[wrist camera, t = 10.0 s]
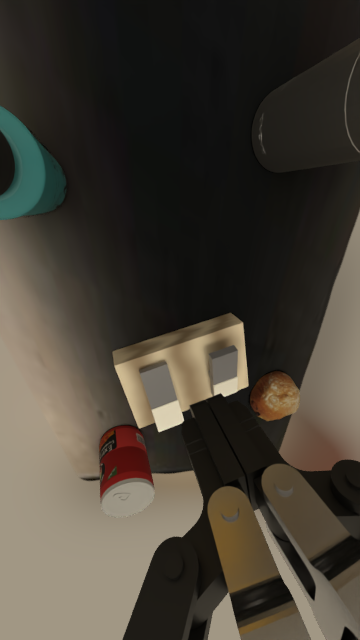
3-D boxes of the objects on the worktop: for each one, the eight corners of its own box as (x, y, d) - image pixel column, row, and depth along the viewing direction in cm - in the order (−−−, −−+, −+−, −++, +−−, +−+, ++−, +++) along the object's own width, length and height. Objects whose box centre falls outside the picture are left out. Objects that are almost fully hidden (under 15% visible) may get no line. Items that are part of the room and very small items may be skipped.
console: (230, 312, 43) (242, 322, 40) (237, 374, 49) (248, 387, 46) (112, 351, 39) (114, 365, 36) (135, 412, 46) (139, 429, 42)
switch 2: (231, 341, 38) (238, 350, 36) (231, 381, 44) (237, 391, 43) (206, 350, 37) (212, 360, 36) (209, 390, 44) (214, 400, 42)
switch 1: (164, 358, 38) (167, 364, 36) (180, 413, 41) (184, 422, 39) (138, 367, 38) (139, 374, 36) (156, 423, 41) (158, 432, 38)
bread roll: (280, 380, 59) (315, 390, 52) (262, 422, 56) (297, 438, 50) (258, 359, 54) (293, 367, 48) (237, 404, 51) (271, 418, 45)
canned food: (105, 422, 45) (108, 482, 35) (148, 425, 48) (162, 481, 38) (93, 455, 47) (94, 520, 37) (136, 455, 50) (146, 515, 40)
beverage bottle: (51, 225, 30) (-4, 258, 13) (-10, 185, 27) (-189, 158, 10) (81, 177, 29) (63, 142, 12) (20, 129, 26) (-122, -9, 9)
